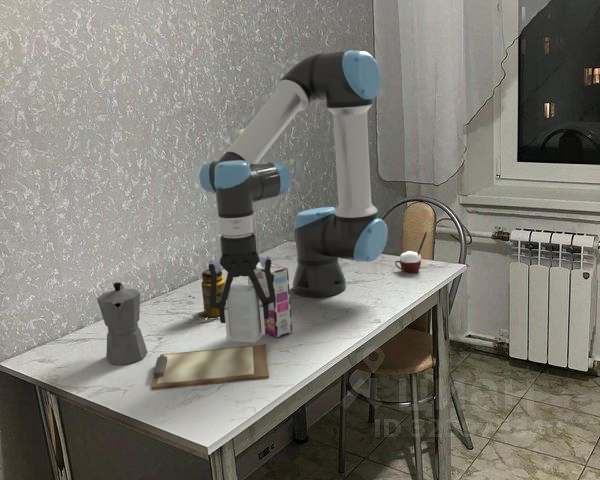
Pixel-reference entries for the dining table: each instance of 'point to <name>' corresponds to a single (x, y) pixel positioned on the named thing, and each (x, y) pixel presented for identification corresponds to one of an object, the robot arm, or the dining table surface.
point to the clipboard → (210, 366)
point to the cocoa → (411, 260)
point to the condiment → (206, 292)
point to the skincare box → (244, 313)
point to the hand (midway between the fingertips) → (245, 334)
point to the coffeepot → (122, 325)
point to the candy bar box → (280, 309)
